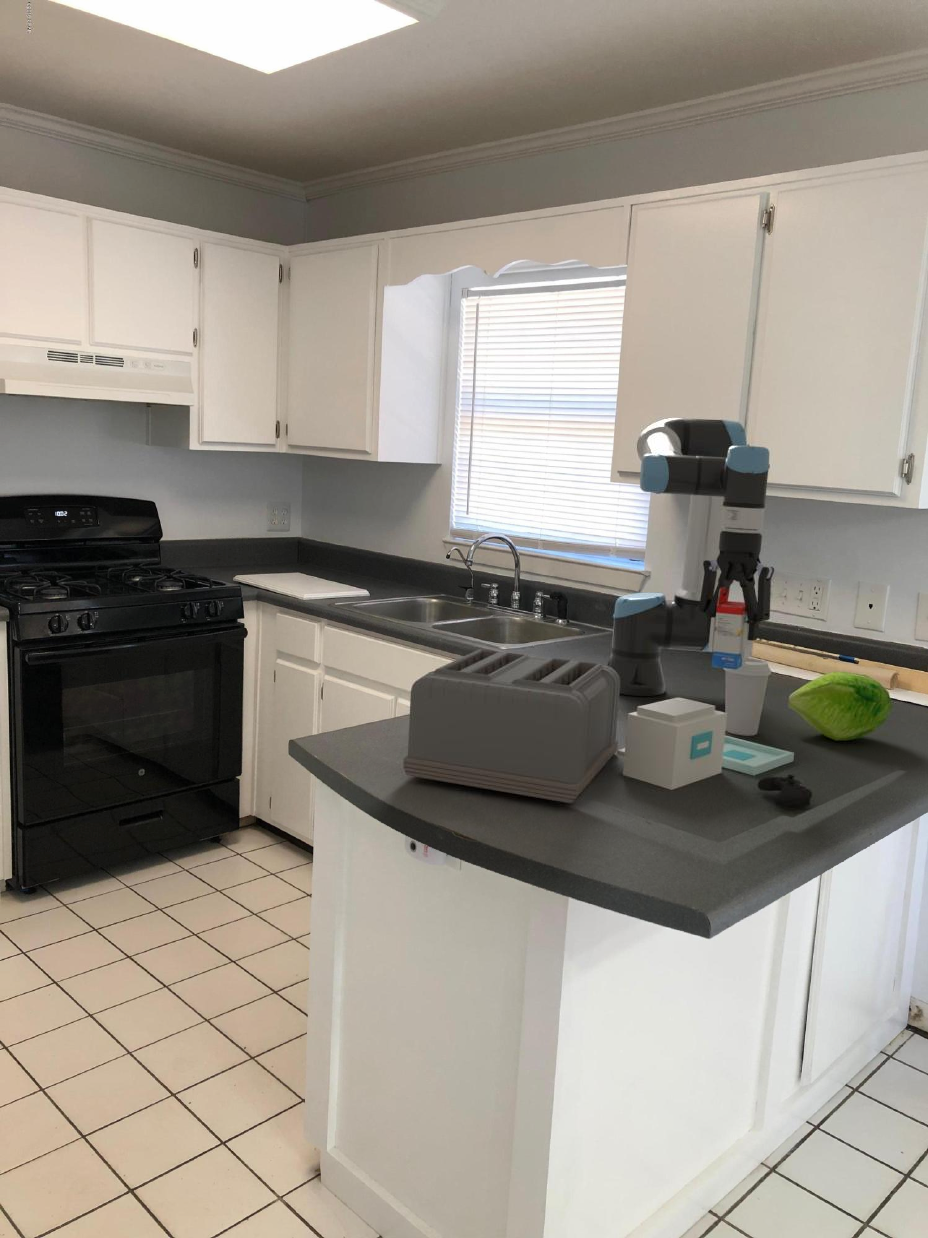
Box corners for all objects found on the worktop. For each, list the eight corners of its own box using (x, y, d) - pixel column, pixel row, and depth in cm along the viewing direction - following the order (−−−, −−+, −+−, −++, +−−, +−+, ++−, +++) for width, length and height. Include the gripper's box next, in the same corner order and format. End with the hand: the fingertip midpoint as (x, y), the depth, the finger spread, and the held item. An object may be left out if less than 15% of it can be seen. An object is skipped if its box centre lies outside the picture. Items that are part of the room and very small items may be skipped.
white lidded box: (609, 770, 180) (614, 703, 178) (660, 755, 191) (665, 692, 189) (674, 790, 170) (680, 720, 169) (723, 773, 182) (730, 707, 180)
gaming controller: (753, 782, 172) (781, 760, 172) (771, 805, 173) (799, 783, 173) (774, 802, 162) (804, 779, 162) (793, 826, 163) (823, 803, 163)
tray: (681, 755, 192) (682, 747, 192) (723, 742, 203) (723, 735, 202) (753, 775, 182) (754, 766, 181) (793, 761, 192) (794, 753, 192)
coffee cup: (768, 730, 215) (775, 660, 212) (760, 740, 206) (768, 667, 204) (722, 723, 219) (729, 654, 216) (713, 732, 210) (720, 661, 208)
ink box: (737, 670, 186) (745, 591, 184) (710, 666, 188) (717, 588, 186) (746, 664, 194) (754, 587, 192) (720, 660, 196) (727, 585, 194)
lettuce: (788, 722, 223) (795, 661, 221) (887, 735, 216) (895, 672, 213) (783, 737, 209) (790, 672, 207) (888, 752, 202) (896, 685, 200)
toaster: (622, 749, 195) (629, 657, 192) (575, 804, 162) (584, 694, 159) (474, 727, 205) (479, 639, 202) (402, 774, 172) (406, 671, 169)
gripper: (685, 526, 191) (675, 647, 195) (778, 535, 178) (765, 664, 181) (707, 526, 197) (697, 644, 200) (799, 535, 183) (786, 661, 186)
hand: (729, 654), depth 191 cm, fingers closed on ink box, 6 cm apart
